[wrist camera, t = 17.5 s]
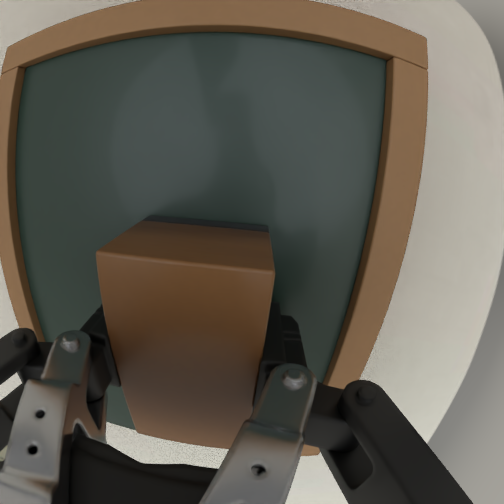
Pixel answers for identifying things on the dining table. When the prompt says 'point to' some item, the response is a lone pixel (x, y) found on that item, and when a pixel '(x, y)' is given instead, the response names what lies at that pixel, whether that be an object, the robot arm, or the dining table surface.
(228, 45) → the slate board
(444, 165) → the dining table surface
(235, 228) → the eraser
